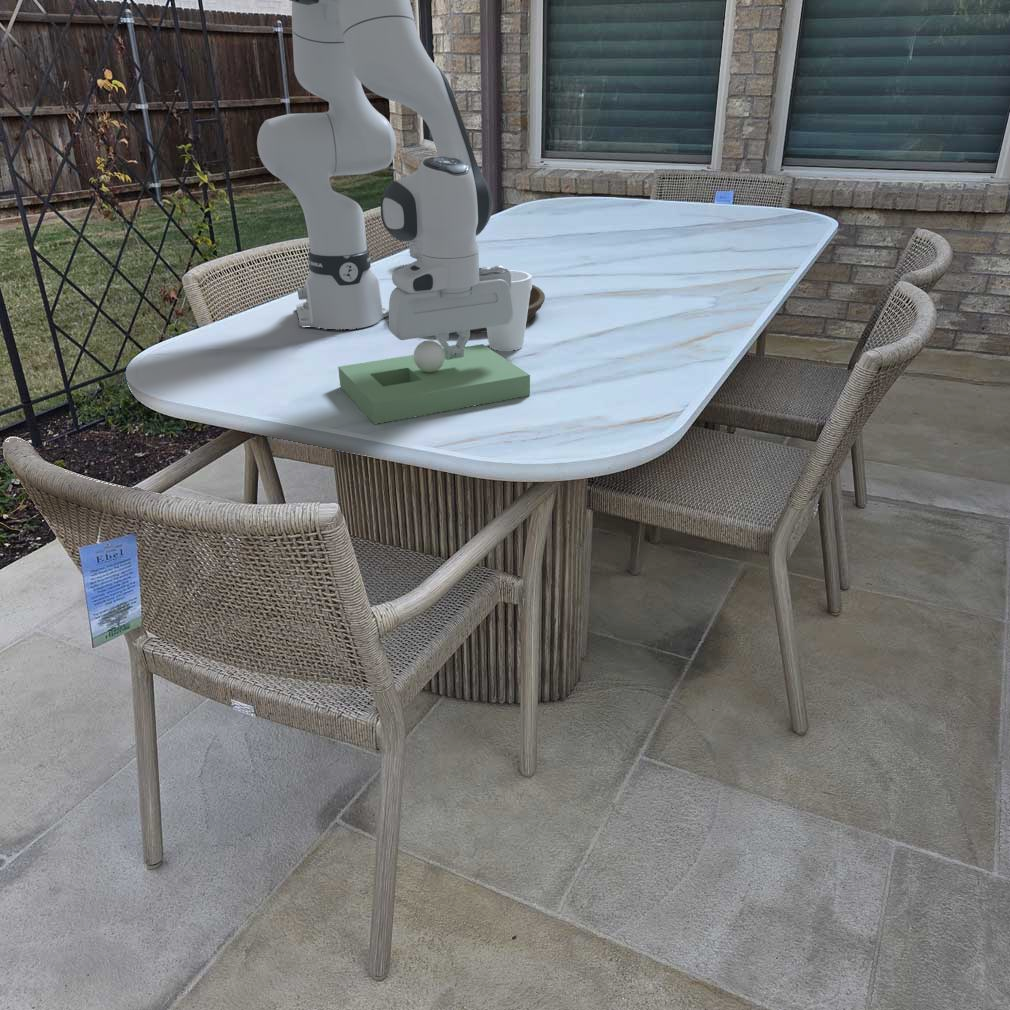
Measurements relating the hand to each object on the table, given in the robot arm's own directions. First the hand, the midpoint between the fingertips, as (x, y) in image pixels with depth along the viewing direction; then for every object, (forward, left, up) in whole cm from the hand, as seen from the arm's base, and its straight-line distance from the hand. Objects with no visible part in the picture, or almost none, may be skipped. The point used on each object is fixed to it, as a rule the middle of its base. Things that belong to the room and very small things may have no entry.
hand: (453, 357), depth 138 cm
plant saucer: (-39, +20, -6) cm, 44 cm away
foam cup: (-16, +17, -5) cm, 24 cm away
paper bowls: (-83, +31, -5) cm, 89 cm away
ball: (0, -4, +1) cm, 4 cm away
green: (0, -4, -5) cm, 6 cm away
